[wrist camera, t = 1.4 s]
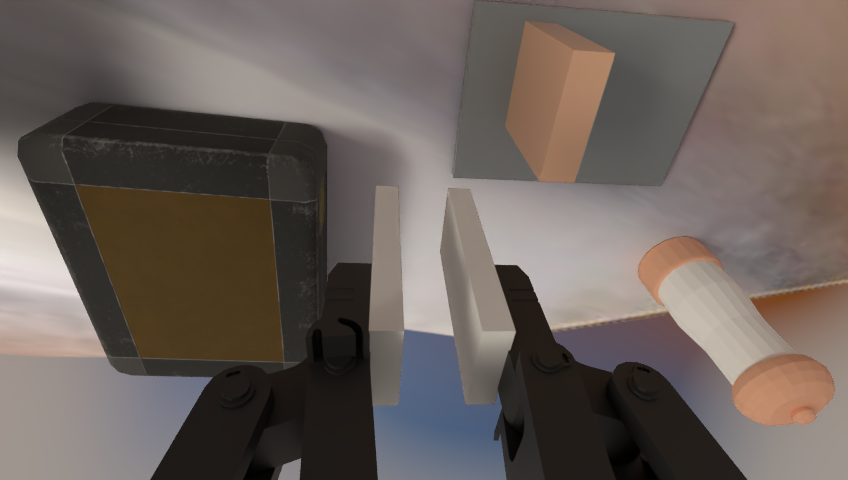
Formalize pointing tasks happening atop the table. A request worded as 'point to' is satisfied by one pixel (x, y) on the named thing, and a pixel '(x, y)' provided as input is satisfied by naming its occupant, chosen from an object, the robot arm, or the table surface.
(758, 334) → the salt shaker
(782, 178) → the table surface
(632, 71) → the slate board
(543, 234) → the table surface
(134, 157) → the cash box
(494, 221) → the table surface
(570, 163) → the tile
